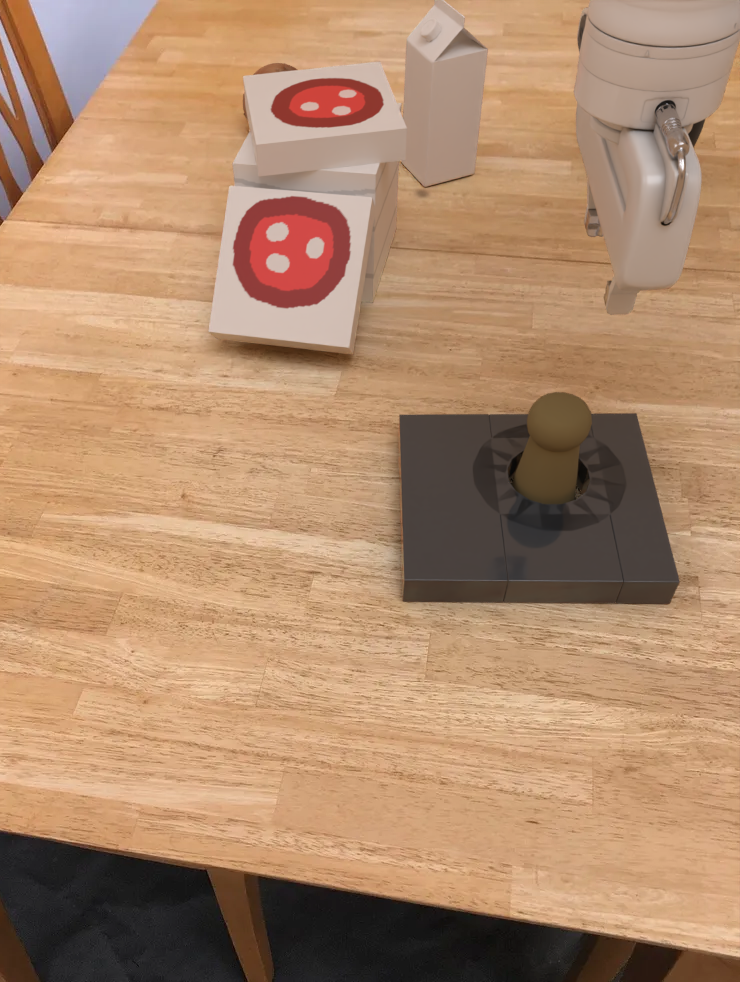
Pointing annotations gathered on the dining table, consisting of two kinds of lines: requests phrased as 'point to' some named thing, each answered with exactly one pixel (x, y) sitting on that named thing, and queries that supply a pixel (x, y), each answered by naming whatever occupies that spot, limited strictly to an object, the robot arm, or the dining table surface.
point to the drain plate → (528, 517)
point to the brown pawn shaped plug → (553, 448)
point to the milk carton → (442, 96)
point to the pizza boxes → (309, 207)
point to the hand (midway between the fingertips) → (605, 268)
